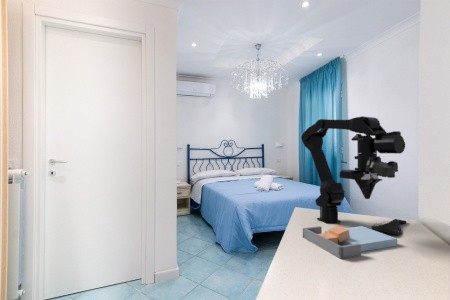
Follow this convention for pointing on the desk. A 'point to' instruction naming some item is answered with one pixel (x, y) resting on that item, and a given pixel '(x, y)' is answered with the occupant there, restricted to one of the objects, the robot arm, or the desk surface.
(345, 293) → the desk surface
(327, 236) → the tile
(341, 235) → the tile
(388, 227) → the black spiral-grooved part
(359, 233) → the board
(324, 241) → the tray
